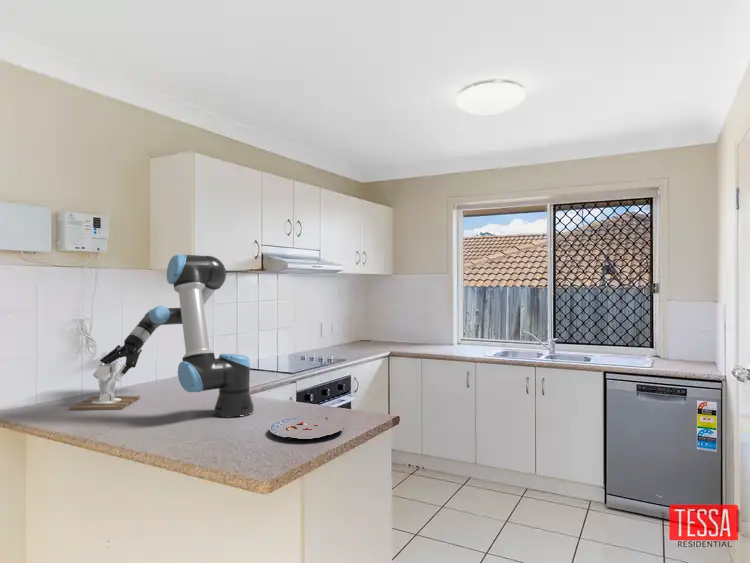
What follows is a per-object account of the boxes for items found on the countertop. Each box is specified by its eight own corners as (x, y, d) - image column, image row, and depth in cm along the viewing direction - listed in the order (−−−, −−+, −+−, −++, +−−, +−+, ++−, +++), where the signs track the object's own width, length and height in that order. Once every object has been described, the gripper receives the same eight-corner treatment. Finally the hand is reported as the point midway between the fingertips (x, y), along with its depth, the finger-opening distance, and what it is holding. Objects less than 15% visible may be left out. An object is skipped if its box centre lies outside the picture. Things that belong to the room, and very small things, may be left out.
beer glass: (120, 399, 215) (120, 364, 215) (107, 402, 208) (107, 366, 208) (106, 398, 217) (107, 363, 217) (93, 401, 210) (94, 365, 210)
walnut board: (121, 409, 203) (121, 405, 203) (69, 410, 202) (69, 406, 202) (139, 398, 223) (140, 395, 223) (92, 399, 221) (92, 395, 221)
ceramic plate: (315, 449, 157) (315, 439, 157) (253, 436, 170) (253, 427, 170) (358, 429, 179) (358, 420, 179) (300, 419, 192) (300, 411, 192)
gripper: (161, 346, 223) (131, 386, 209) (123, 342, 234) (92, 380, 220) (151, 335, 218) (119, 375, 204) (113, 332, 229) (80, 370, 215)
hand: (105, 378), depth 212 cm, fingers open, 13 cm apart
